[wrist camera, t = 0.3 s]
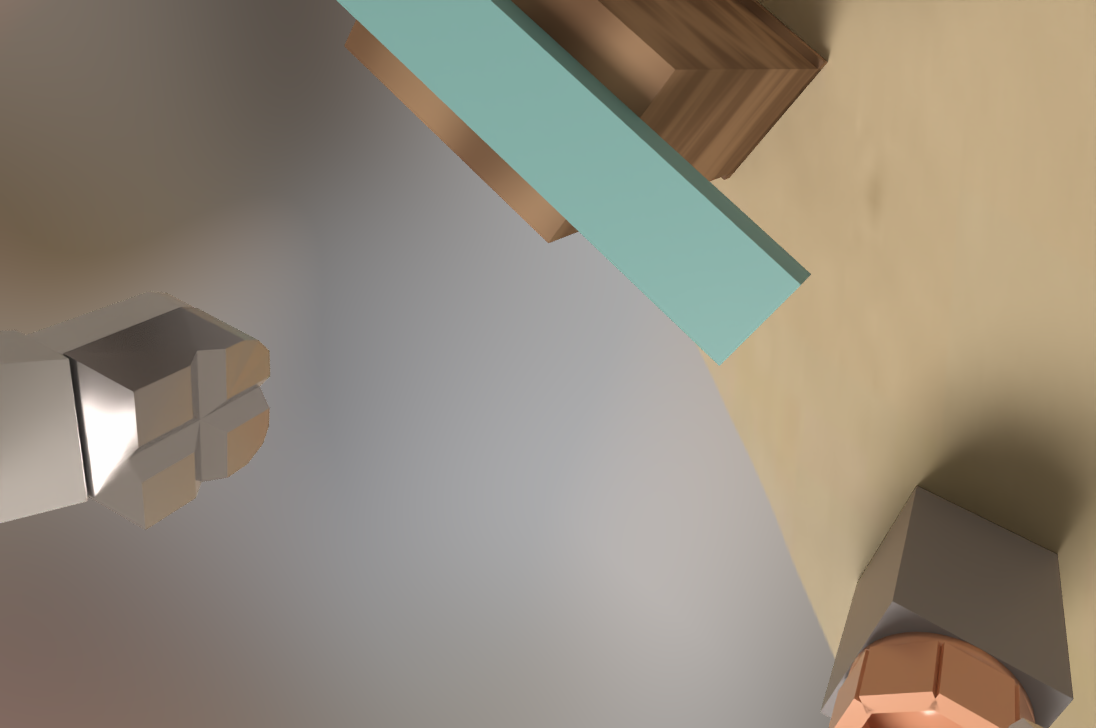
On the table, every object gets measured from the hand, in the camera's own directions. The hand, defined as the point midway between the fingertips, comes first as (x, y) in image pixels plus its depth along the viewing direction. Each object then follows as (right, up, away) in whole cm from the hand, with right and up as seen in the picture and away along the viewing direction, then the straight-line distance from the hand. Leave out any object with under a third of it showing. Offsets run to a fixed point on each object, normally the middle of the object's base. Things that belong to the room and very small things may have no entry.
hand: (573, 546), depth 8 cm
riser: (+27, -12, +46) cm, 55 cm away
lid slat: (0, +11, +21) cm, 24 cm away
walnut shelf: (+10, +21, +43) cm, 49 cm away
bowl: (+20, -16, +34) cm, 43 cm away
